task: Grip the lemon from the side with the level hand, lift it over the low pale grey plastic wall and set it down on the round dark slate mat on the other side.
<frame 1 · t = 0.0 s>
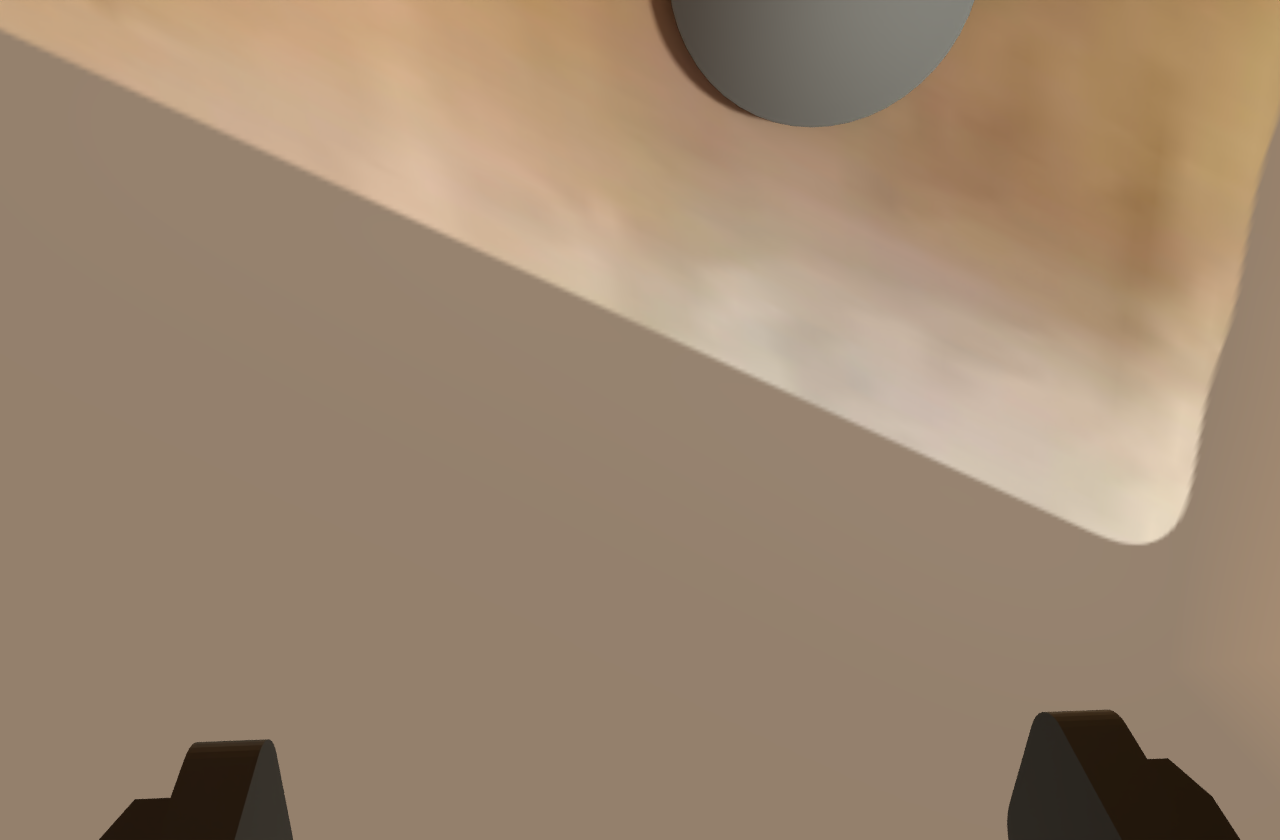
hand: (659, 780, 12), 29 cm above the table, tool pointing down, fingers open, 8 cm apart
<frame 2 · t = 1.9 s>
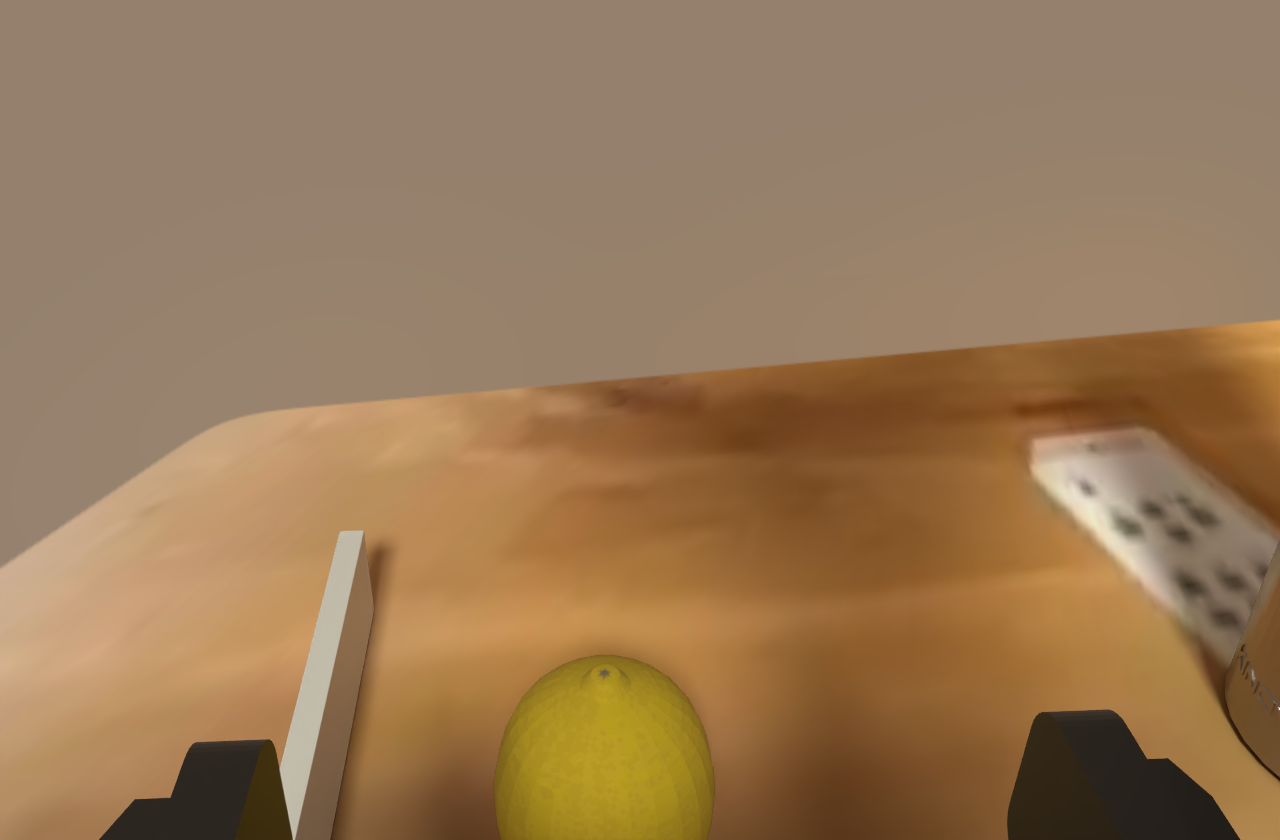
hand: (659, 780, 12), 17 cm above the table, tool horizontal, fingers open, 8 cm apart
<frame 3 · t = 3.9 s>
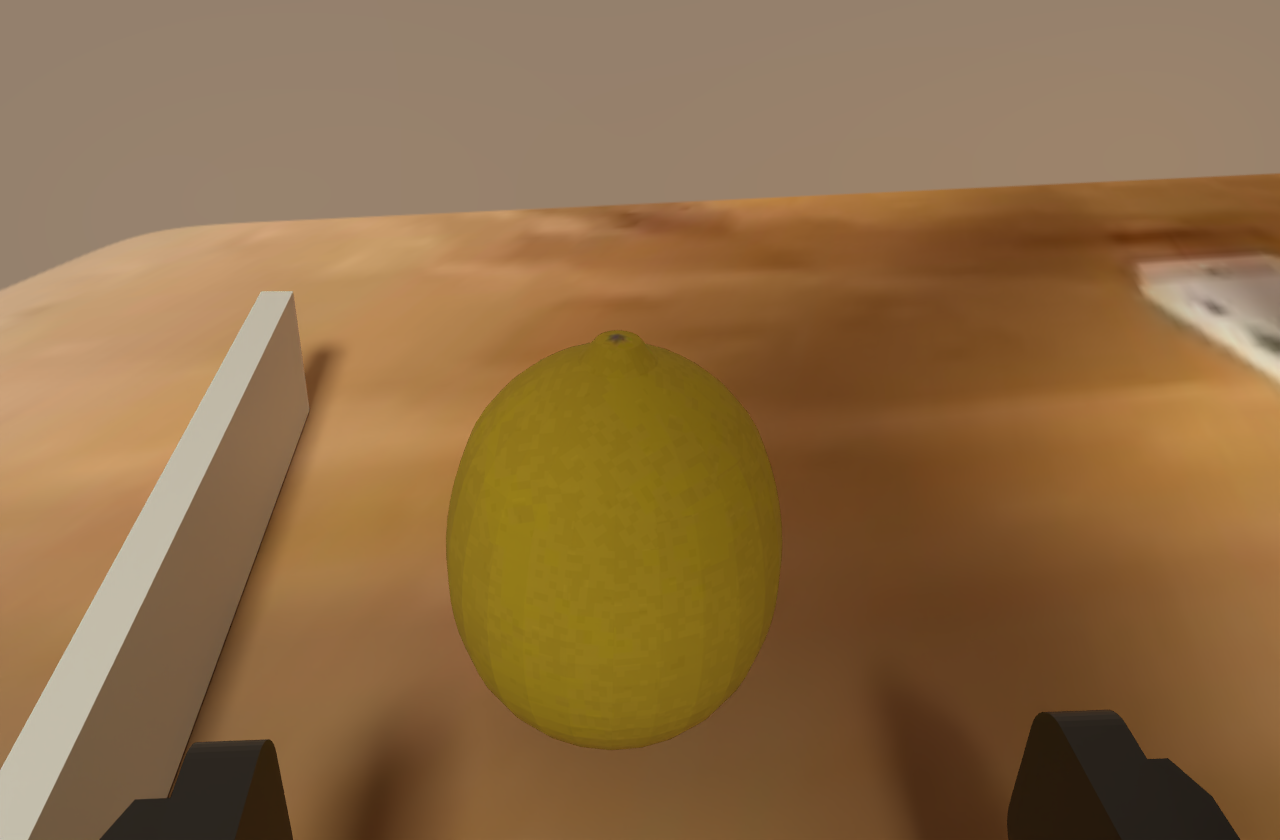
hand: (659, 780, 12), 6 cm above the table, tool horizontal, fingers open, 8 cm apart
lemon: (611, 735, 21), on the table
low wall: (164, 742, 20), on the table
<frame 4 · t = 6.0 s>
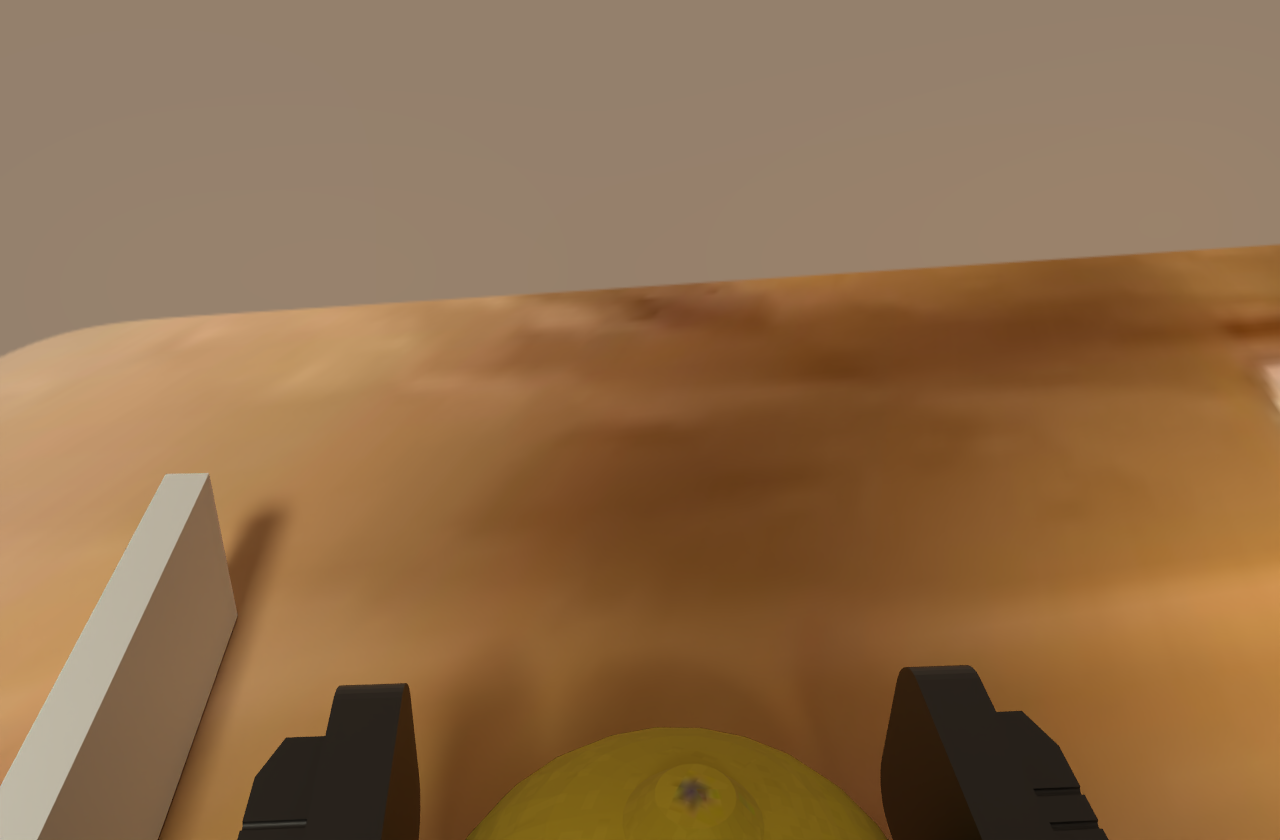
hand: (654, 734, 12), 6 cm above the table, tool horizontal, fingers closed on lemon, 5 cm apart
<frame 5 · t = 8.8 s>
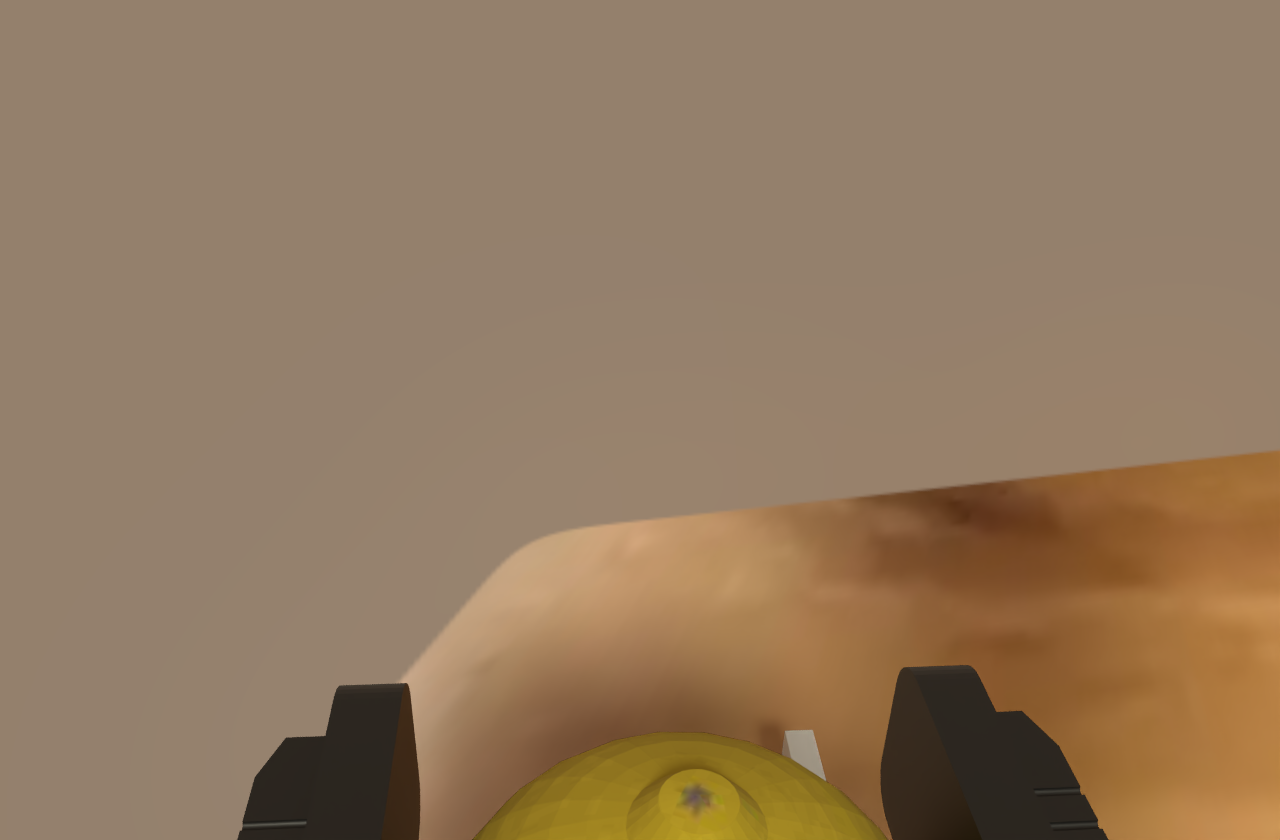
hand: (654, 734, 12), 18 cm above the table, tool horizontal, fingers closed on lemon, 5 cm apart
when the fingers open (8 cm above the table, at t = 11.4 s): lemon stays where it is, resting on slate mat.
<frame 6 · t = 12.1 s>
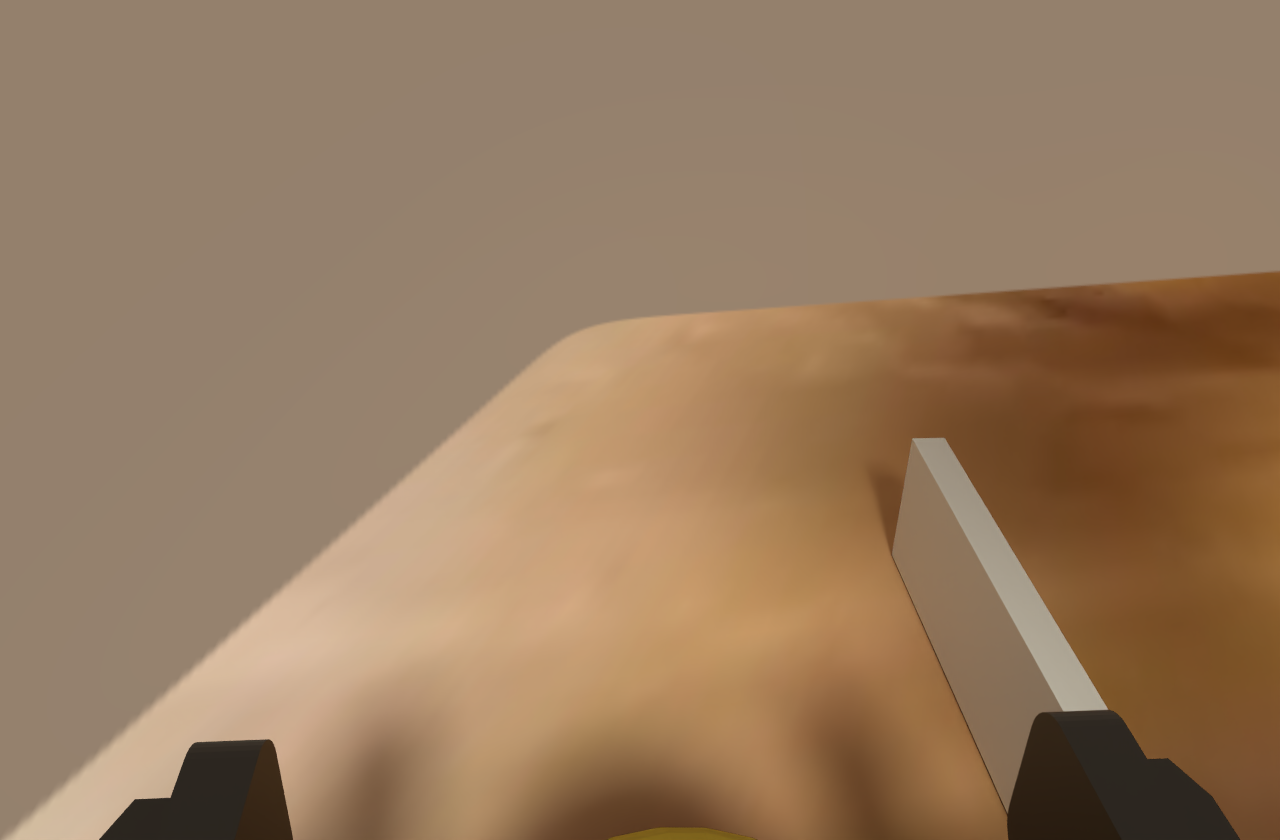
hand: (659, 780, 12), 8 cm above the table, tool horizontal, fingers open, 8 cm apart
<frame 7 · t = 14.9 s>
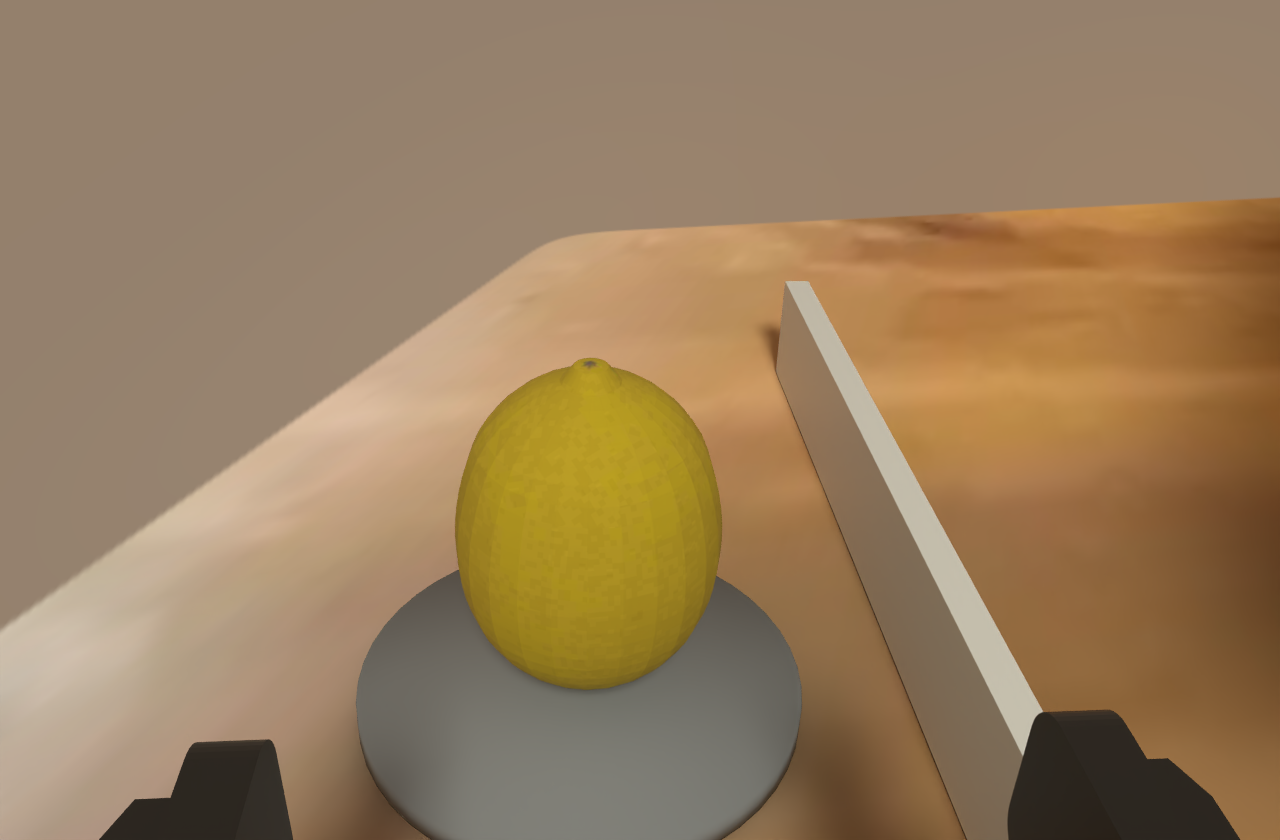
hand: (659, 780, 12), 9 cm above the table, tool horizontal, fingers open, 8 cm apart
lemon: (587, 683, 25), resting on slate mat
low wall: (874, 577, 30), on the table
slate mat: (581, 693, 26), on the table
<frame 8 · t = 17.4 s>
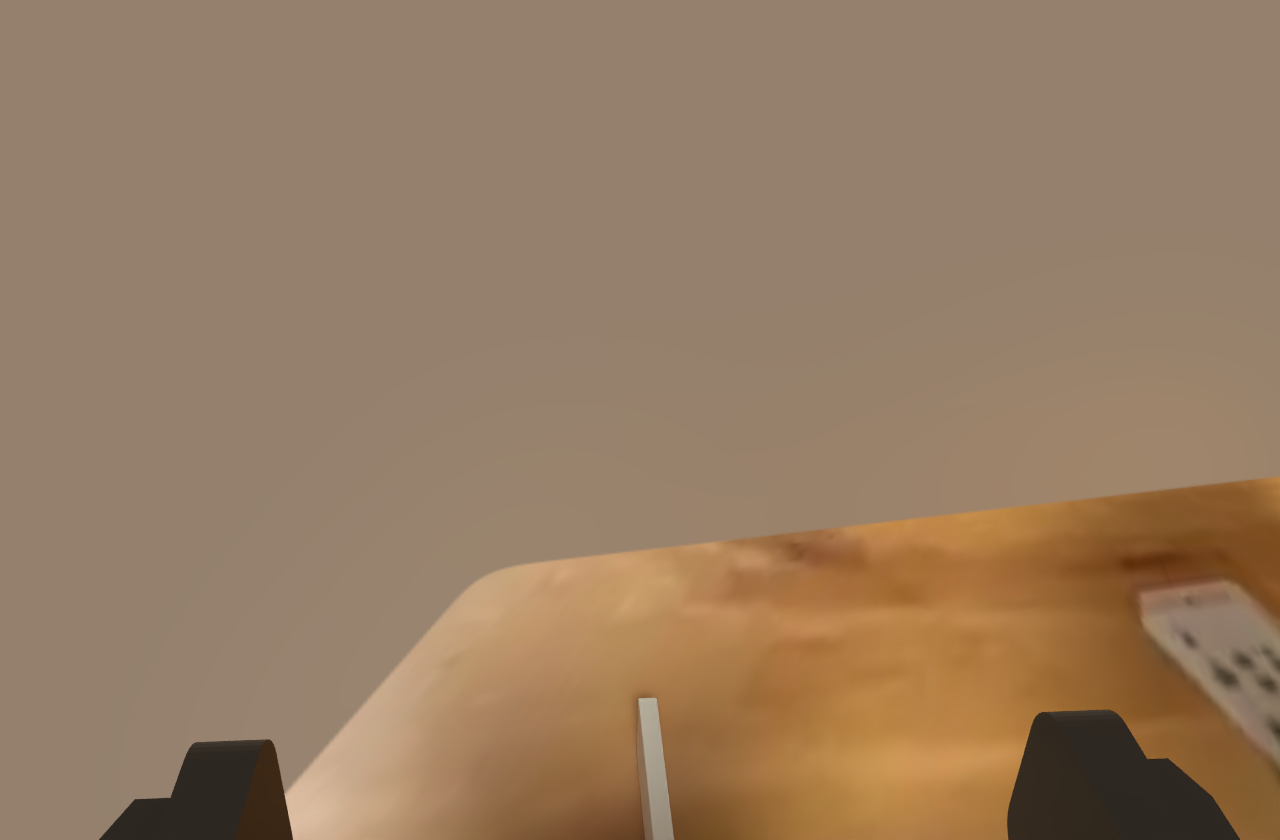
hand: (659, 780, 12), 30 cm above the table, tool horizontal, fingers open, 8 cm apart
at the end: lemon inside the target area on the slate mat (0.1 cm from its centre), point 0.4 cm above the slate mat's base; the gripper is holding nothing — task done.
